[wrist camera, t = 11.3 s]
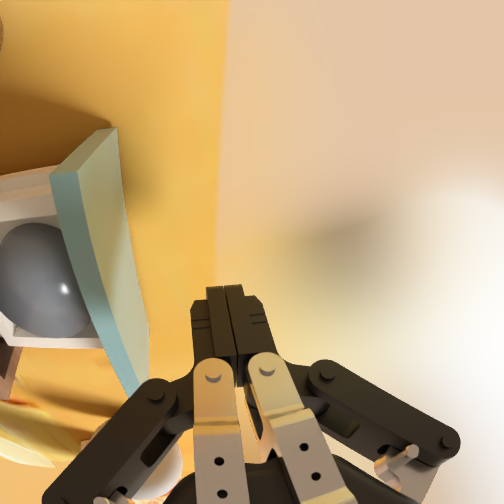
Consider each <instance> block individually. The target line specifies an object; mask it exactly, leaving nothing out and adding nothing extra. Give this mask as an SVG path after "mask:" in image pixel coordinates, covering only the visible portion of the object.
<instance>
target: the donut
mask: <svg viewBox="0 0 504 504" xmlns="http://www.w3.org/2000/svg"><path fill="white" fill-rule="evenodd" d="M109 420H110V419H109ZM109 420H107V421H106V422H104V423H103V424H102V425H100V426H99V427H98V428H97V429H96V431H95V432H94V434H93V435H92V437H91V439H90V441H91V440H92V439H93V438H94V437H95V436H96V434H97V433H98V432H99V431H100V430H101V429H102V428H103V427H104V426H105V424H106V423H107V422H108V421H109ZM182 465H183V458H182V454H181V451H180V448H179V445H178V443H177V442H176V443H175V444H174V446H173V447H172V448H171V450H170V451H169V452H168V454H167V455H166V456H165V457H164V459H163V460H162V461H161V463H160V464H159V465H158V466H157V468H156V469H155V470H154V471H153V473H152V474H151V475H150V476H149V478H148V479H147V480H146V481H145V483H144V484H143V485H142V486H141V488H140V489H139V490H138V491H137V493H136V494H135V495H134V496H133V497H132V499H133V500H150V499H155V498H158V497H160V496H162V495H164V494H167V493H168V492H169V491H170V490H171V489H172V488H173V487H174V486H175V485H176V484H177V482H178V480H179V478H180V476H181V473H182Z"/></svg>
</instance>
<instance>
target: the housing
mask: <svg viewBox="0 0 504 504" xmlns="http://www.w3.org/2000/svg"><path fill="white" fill-rule="evenodd" d="M22 349H23V347H20V346H9V345H8V344H7V342H6V341H5V339H4V338H3V337H0V399H4V400H9V397H10V392H11V388H12V384H13V380H14V376H15V373H16V369H17V366H18V362H19V359H20V355H21V352H22Z"/></svg>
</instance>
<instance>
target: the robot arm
mask: <svg viewBox="0 0 504 504" xmlns="http://www.w3.org/2000/svg"><path fill="white" fill-rule="evenodd" d="M190 313H191V326H192V338H193V350H194V366H193V368H192V370H191V371H190V372H189V373H188V374H187V375H186V376H184V377H182V378H180V379H178V380H175V381H172V382H168V381H166V380H164V379H159V378H154V379H150V380H147V381H145V382H144V383H142V384H141V385H140V387H139V388H138V389H137V390H136V391H135V392H134V393H133V394H132V395H131V397H130V398H129V399H128V400H127V401H126V402H125V403H124V404H123V405H122V407H121V408H120V409H119V410H118V411H117V412H116V413H115V414H114V416H113V417H112V418H111V419H110V420H109V421H108V422H107V423H106V424H105V426H104V427H103V428H102V429H101V430H100V431H99V432H98V433H97V434H96V436H95V437H94V438H93V439H92V440H91V441H90V442H89V443H88V444H87V446H86V447H85V448H84V449H83V450H82V451H81V452H80V453H79V454H78V455H77V457H76V458H75V459H74V460H73V461H72V462H71V463H70V464H69V465H68V467H67V468H66V469H65V470H64V471H63V472H62V473H61V474H60V475H59V477H58V478H57V479H56V480H55V481H54V482H53V483H52V484H51V485H50V486H49V488H48V489H47V490H46V491H45V492H44V494H43V496H42V504H135V502H134V501H133V500H132V497H133V496H134V495H135V494H136V493H137V491H138V490H139V489H140V488H141V486H142V485H143V484H144V483H145V481H146V480H147V479H148V478H149V476H150V475H151V474H152V473H153V471H154V470H155V469H156V468H157V466H158V465H159V464H160V463H161V461H162V460H163V459H164V457H165V456H166V455H167V454H168V452H169V451H170V450H171V448H172V447H173V446H174V444H175V443H176V442H177V441H178V439H179V438H180V437H181V435H182V434H183V432H184V431H186V430H188V429H191V428H193V441H194V463H195V472H193V473H191V474H189V475H188V476H186V477H184V478H183V479H182V480H181V481H179V482H178V483H177V484H176V485H175V487H174V488H173V489H172V491H171V492H170V494H169V495H168V496H167V498H166V499H165V501H164V502H163V504H421V503H422V501H423V499H424V497H425V495H426V493H427V491H428V489H429V487H430V485H431V483H432V481H433V479H434V477H435V475H436V473H437V470H438V468H439V466H440V465H441V464H442V463H444V462H446V461H447V460H449V459H450V458H452V457H454V456H455V455H456V454H457V453H458V451H459V449H460V443H461V442H460V437H459V435H458V433H457V432H456V431H455V430H454V429H453V428H451V427H449V426H447V425H445V424H444V423H442V422H440V421H438V420H436V419H434V418H432V417H430V416H429V415H427V414H425V413H423V412H421V411H419V410H418V409H416V408H414V407H412V406H410V405H409V404H407V403H405V402H403V401H401V400H399V399H398V398H396V397H394V396H392V395H391V394H389V393H387V392H385V391H384V390H382V389H380V388H378V387H377V386H375V385H373V384H372V383H370V382H368V381H366V380H364V379H363V378H361V377H360V376H358V375H356V374H355V373H353V372H351V371H349V370H348V369H346V368H345V367H343V366H341V365H340V364H338V363H336V362H334V361H332V360H319V361H317V362H315V363H314V364H312V365H311V367H310V366H302V365H295V364H291V363H289V362H287V361H285V360H284V359H282V358H281V357H280V356H279V354H278V352H277V350H276V347H275V344H274V340H273V337H272V334H271V331H270V328H269V324H268V322H267V318H266V315H265V311H264V308H263V305H262V303H261V302H260V301H259V300H258V299H257V297H256V296H244V292H243V288H242V285H241V284H239V285H227V286H224V288H223V286H215V287H206V300H195V301H194V303H193V305H192V307H191V309H190ZM236 384H237V387H243V388H244V392H245V405H246V408H247V412H248V415H249V418H250V421H251V424H252V427H253V430H254V434H255V437H256V440H257V443H258V450H259V455H260V459H261V462H262V464H251V463H244V455H243V447H242V439H241V431H240V425H239V422H238V417H237V407H236V397H235V386H236ZM321 431H323V432H324V433H326V434H328V435H329V436H331V437H332V438H334V439H336V440H337V441H339V442H340V443H342V444H344V445H345V446H347V447H349V448H350V449H352V450H354V451H356V452H357V453H359V454H361V455H362V456H364V457H366V458H368V459H370V460H371V461H373V462H375V464H374V469H375V472H376V475H377V476H378V477H379V478H380V479H382V480H383V481H384V482H385V483H386V484H384V483H383V482H381V481H379V480H377V479H376V478H374V477H372V476H371V475H369V474H367V473H366V472H364V471H362V470H361V469H359V468H358V467H356V466H354V465H353V464H351V463H350V462H348V461H347V460H345V459H343V458H341V457H339V456H337V455H334V454H331V452H330V449H329V447H328V445H327V443H326V440H325V438H324V436H323V434H322V432H321Z"/></svg>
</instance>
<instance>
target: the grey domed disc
mask: <svg viewBox="0 0 504 504" xmlns="http://www.w3.org/2000/svg"><path fill="white" fill-rule="evenodd" d="M0 311H1V312H2V313H3V315H4V316H5V317H7V318H8V319H9V320H10V321H11V322H13V323H14V324H15V325H17V326H18V327H20V328H22V329H23V330H25V331H27V332H30V333H32V334H35V335H38V336H42V337H47V338H66V337H70V336H73V335H76V334H78V333H80V332H81V331H82V330H84V329H85V328H86V327H87V326H88V324H89V323H90V321H91V317H90V315H89V312H88V309H87V307H86V304H85V302H84V299H83V296H82V294H81V291H80V288H79V285H78V282H77V280H76V277H75V274H74V271H73V268H72V265H71V261H70V258H69V255H68V252H67V248H66V245H65V242H64V238H63V234H62V231H61V229H58V228H56V227H53V226H50V225H47V224H42V223H26V224H22V225H19V226H17V227H15V228H13V229H12V230H10V231H9V232H8V233H7V234H6V235H5V237H4V238H3V239H2V241H1V242H0Z"/></svg>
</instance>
